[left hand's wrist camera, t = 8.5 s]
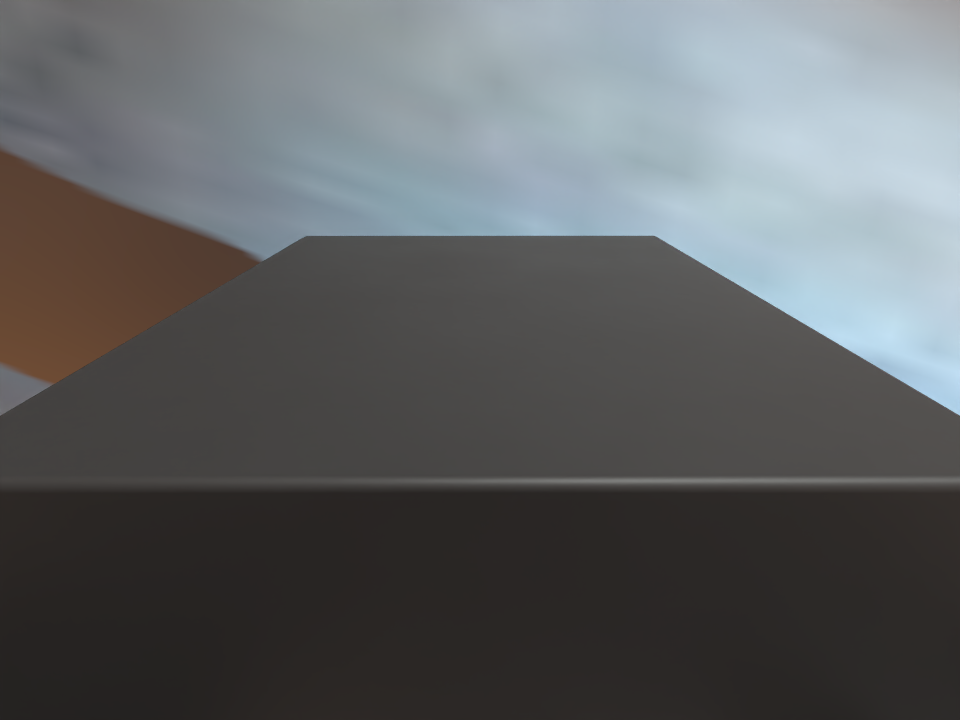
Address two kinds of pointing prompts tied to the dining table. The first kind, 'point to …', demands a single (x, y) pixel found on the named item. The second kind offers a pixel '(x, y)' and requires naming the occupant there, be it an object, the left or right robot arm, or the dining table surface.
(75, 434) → the box
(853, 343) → the dining table surface
